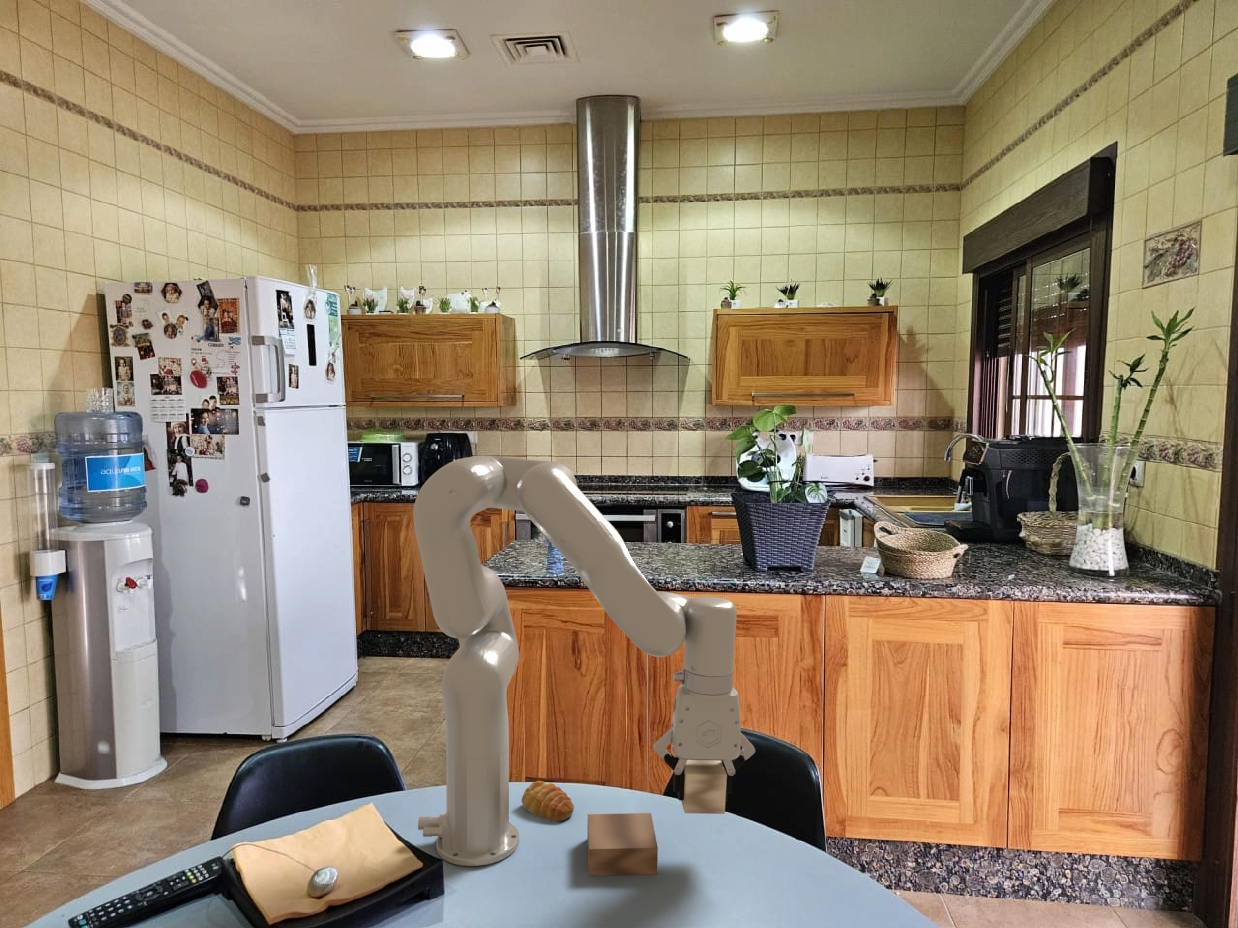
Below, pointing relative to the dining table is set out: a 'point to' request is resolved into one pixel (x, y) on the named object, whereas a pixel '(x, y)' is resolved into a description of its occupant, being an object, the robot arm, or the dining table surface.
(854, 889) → the dining table surface
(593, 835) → the walnut base
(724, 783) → the maple cube
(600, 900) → the dining table surface
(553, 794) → the pastry
